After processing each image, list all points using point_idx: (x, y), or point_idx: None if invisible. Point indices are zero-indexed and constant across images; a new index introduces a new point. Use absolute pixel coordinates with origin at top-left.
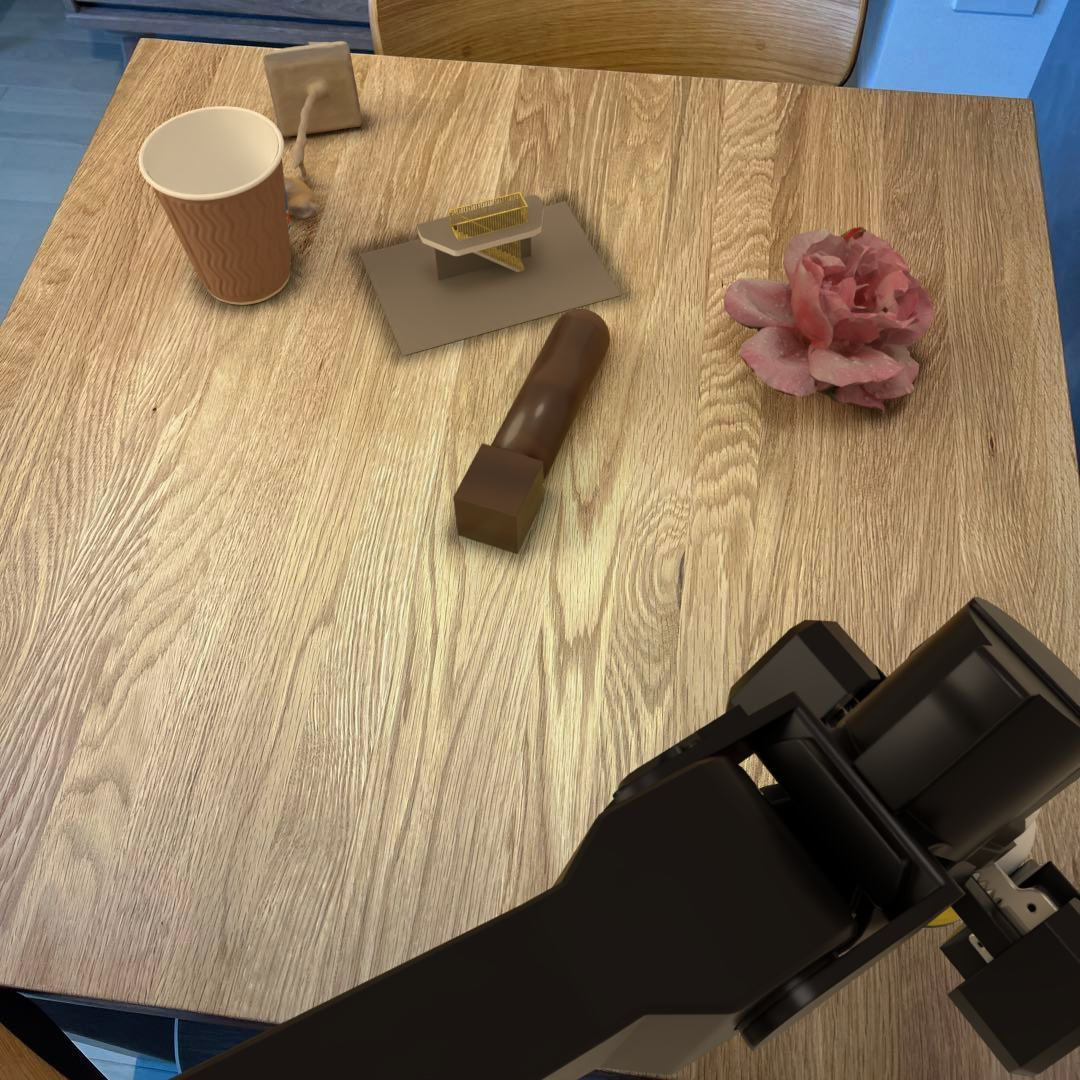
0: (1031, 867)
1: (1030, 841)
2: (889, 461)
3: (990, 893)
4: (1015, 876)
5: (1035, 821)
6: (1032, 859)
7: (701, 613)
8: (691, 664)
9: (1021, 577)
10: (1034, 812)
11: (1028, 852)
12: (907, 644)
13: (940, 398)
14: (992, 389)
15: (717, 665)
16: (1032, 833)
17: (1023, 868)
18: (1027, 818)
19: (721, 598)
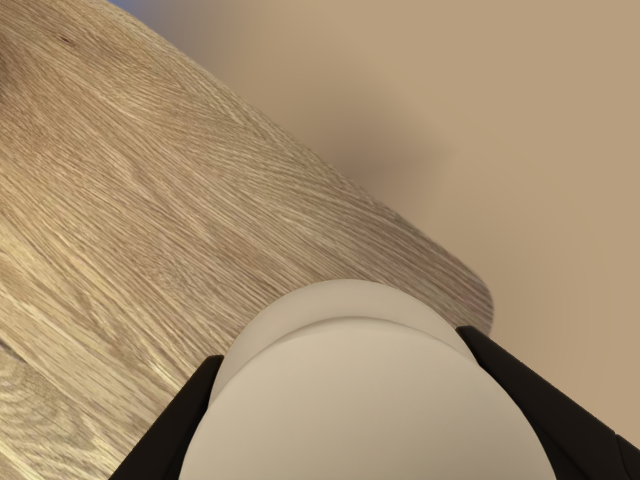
0: (557, 433)
1: (466, 352)
2: (27, 115)
3: None
4: (555, 476)
5: (429, 309)
6: (464, 334)
7: (42, 345)
8: (77, 383)
9: (169, 88)
10: (526, 439)
11: (477, 363)
12: (166, 199)
13: (8, 48)
14: (28, 11)
15: (91, 361)
16: (455, 340)
17: (538, 436)
18: (536, 477)
19: (41, 319)
